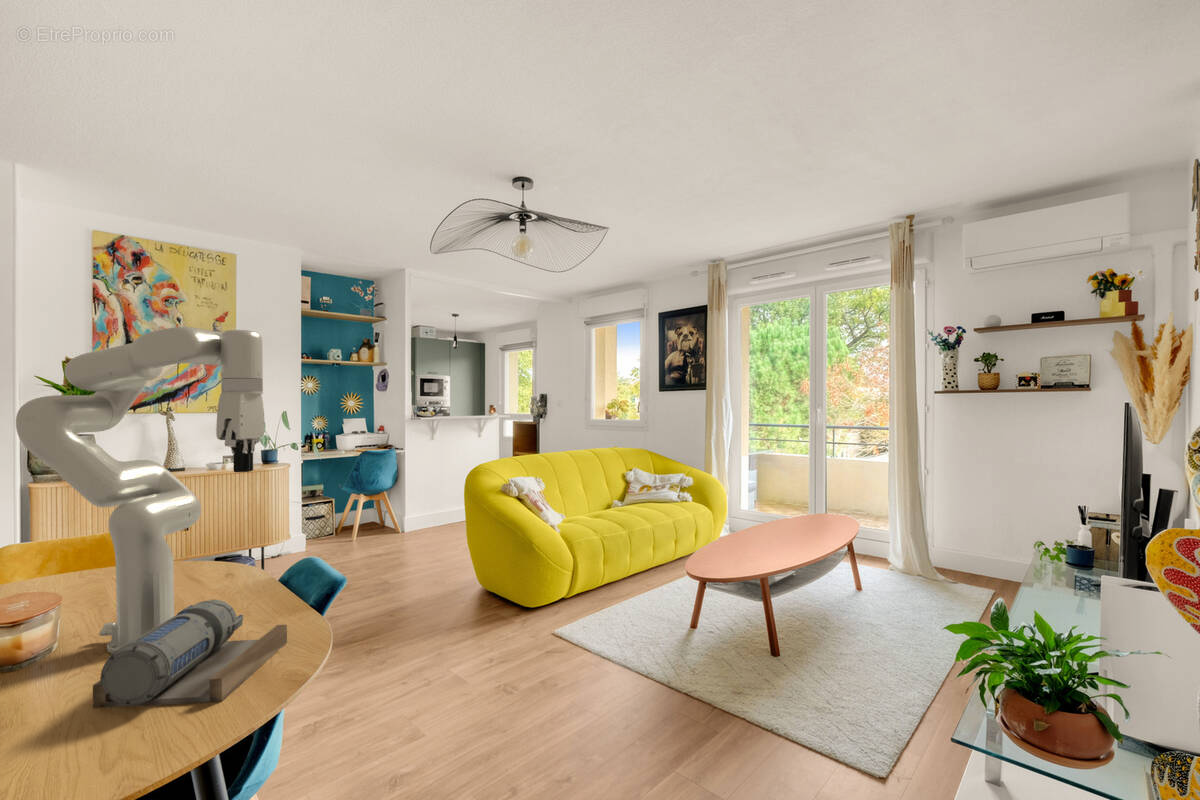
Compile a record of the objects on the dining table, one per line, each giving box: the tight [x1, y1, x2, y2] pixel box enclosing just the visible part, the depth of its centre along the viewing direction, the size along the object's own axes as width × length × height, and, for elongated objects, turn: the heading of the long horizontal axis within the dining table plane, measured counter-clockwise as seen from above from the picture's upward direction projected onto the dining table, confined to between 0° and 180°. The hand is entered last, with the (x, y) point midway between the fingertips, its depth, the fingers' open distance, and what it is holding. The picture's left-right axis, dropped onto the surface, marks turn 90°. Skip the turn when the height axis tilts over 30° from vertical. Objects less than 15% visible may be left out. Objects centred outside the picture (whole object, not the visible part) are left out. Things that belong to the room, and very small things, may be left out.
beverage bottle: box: [99, 599, 244, 704], centre depth 101 cm, size 10×13×25 cm
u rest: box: [92, 624, 288, 709], centre depth 102 cm, size 21×22×4 cm
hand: (243, 471), depth 115 cm, fingers closed
